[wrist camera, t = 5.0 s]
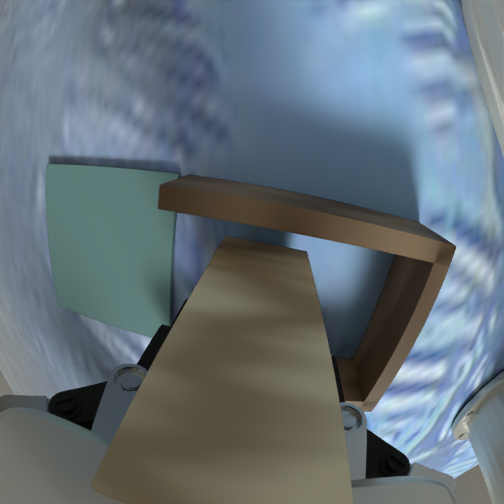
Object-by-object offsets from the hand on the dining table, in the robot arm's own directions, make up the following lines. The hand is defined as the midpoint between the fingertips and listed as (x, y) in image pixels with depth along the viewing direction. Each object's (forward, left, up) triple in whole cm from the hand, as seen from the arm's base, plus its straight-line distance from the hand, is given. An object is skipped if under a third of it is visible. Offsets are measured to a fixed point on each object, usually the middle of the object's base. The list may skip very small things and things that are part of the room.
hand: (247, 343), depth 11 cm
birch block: (0, 0, -4) cm, 4 cm away
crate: (-2, 0, -5) cm, 6 cm away
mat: (+10, 0, -5) cm, 11 cm away
